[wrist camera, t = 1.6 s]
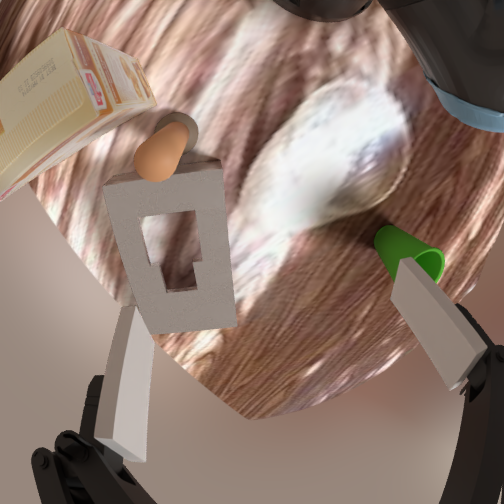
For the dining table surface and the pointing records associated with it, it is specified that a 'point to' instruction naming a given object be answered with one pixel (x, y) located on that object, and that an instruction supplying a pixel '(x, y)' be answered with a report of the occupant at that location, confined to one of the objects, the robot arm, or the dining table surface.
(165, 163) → the headed peg
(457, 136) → the dining table surface
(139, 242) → the keyhole plate
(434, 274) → the cup
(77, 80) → the coffeecake box
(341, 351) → the dining table surface
